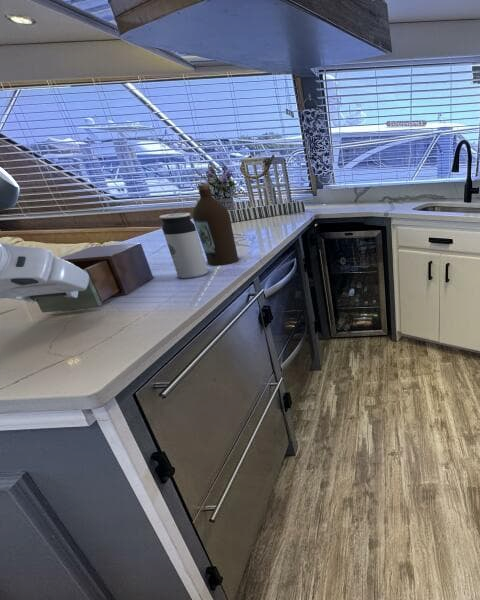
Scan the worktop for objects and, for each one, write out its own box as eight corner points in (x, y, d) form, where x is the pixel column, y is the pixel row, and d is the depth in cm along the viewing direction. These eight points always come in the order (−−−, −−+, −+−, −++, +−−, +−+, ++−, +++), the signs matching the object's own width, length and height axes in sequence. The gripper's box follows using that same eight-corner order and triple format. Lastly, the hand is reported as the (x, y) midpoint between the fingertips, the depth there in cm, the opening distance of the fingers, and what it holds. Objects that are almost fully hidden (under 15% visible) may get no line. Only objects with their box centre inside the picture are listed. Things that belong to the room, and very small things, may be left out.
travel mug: (205, 268, 103) (188, 211, 96) (210, 274, 98) (193, 214, 91) (176, 274, 99) (156, 215, 92) (180, 280, 93) (159, 218, 86)
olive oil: (228, 255, 118) (209, 183, 108) (246, 259, 113) (229, 183, 103) (199, 263, 109) (176, 186, 99) (218, 267, 104) (196, 186, 94)
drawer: (86, 314, 71) (69, 277, 68) (26, 321, 69) (4, 282, 66) (130, 286, 87) (118, 255, 84) (82, 291, 85) (67, 259, 82)
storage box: (126, 294, 84) (110, 255, 80) (71, 300, 82) (51, 260, 78) (153, 277, 97) (140, 242, 93) (106, 281, 95) (91, 246, 91)
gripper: (-90, 290, 55) (-6, 316, 67) (50, 277, 58) (105, 304, 71) (-78, 257, 57) (2, 289, 70) (57, 247, 61) (109, 279, 73)
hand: (55, 297), depth 70 cm, fingers open, 6 cm apart
